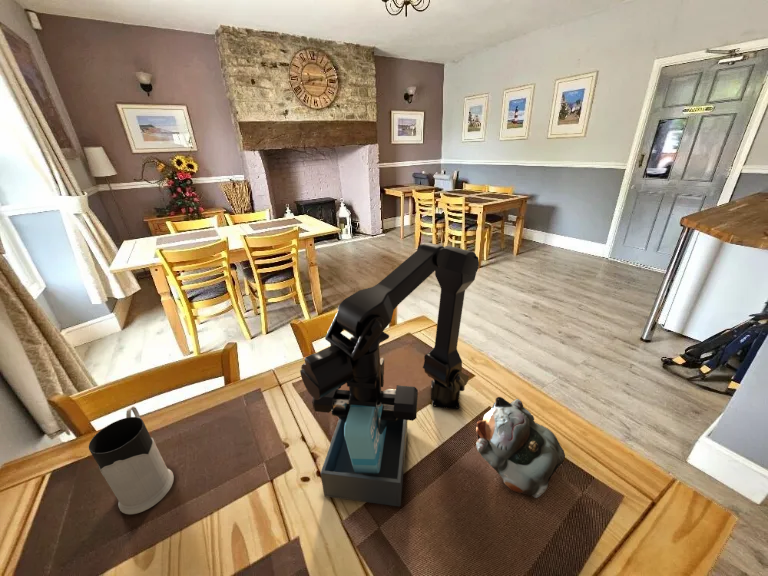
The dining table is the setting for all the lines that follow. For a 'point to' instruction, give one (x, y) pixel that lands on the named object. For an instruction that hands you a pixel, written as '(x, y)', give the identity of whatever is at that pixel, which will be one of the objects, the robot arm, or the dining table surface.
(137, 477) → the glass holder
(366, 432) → the light blue flat block
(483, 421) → the lucky cat figurine
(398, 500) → the dark grey open box
